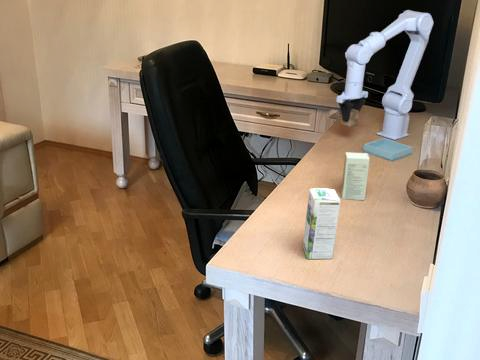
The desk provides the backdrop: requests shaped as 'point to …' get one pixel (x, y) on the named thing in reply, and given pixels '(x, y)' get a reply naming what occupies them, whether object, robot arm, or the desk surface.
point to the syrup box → (321, 223)
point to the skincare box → (355, 176)
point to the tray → (388, 149)
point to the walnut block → (351, 118)
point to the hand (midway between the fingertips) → (349, 120)
